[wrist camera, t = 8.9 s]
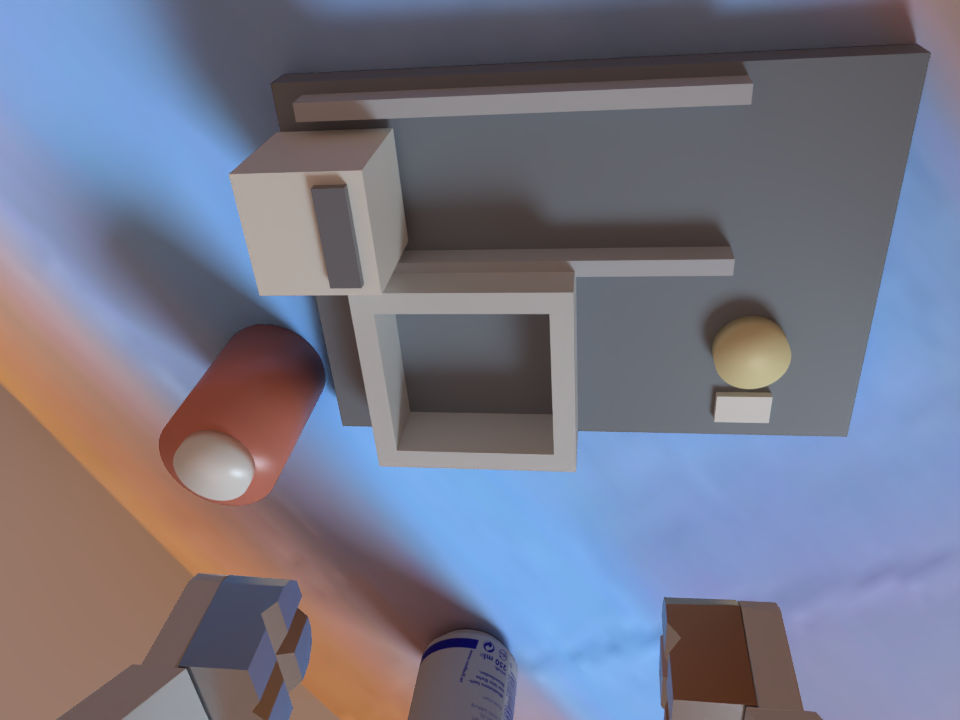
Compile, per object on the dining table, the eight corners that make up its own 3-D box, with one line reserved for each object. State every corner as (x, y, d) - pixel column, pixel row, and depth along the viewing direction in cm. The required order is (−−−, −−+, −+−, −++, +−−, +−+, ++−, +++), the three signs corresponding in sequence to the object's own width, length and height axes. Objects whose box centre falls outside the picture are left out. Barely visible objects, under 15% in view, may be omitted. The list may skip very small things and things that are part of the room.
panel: (916, 44, 24) (962, 73, 21) (839, 417, 31) (864, 480, 28) (282, 74, 27) (241, 104, 24) (350, 408, 34) (325, 464, 31)
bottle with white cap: (314, 324, 32) (255, 423, 27) (333, 411, 35) (282, 518, 29) (213, 324, 33) (135, 420, 28) (238, 410, 35) (171, 514, 30)
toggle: (392, 127, 26) (359, 174, 22) (408, 240, 28) (379, 299, 24) (276, 132, 27) (224, 177, 23) (299, 242, 29) (255, 300, 25)
